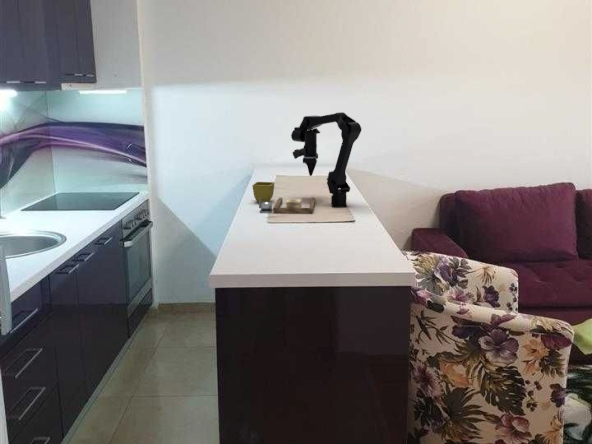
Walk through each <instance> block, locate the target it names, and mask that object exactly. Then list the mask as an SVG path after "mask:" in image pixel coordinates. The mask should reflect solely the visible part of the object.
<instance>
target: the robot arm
mask: <svg viewBox="0 0 592 444" xmlns="http://www.w3.org/2000/svg"><path fill="white" fill-rule="evenodd" d="M331 123H332V124H333V123H336V124H337V127H338V129H339V130H340V131H341V133H340V136H341V139H342V142H341V146H340V149H339V153H338V157H337V160H336V163H335V167H334V168H333V169H334V170H332V171H329V172H328V173H327V178H326V180H327V181H326V184H327V188H328V192H329V194H332V195H331V196H330V197H331V200H330V201H331V202H330V203H331V207H333V208H347V204H348V203H347V193H349V192H350V191H351V186H350V185H349V184H348V182H347V175H346V170H347V166H348V165H349V164H348V163H349V160H350V157H351V153H352V149H353V146H354V143H355V142H356V140H357V139H358V138H359V137H360V135H361V133H362V126H361V125H360V123H359V122H357V121H356V120H355V119H353V118H352V117H351V116H349V115H347V114H346V113H345V112H342V111H341V112H336V113H331V114H325V115H305V116H303V118H302V121H301V122H300V124H299V126H295V127H294V129H293V130H292V132H291V134H290V137H291V140H292V141H293V142H299V143H304V145H303V147H302V148H296V149H294V151H292V156H293V158H294V160H296V159H298V158H299V157H302V156H303V158H302V164H305V165H306V166H307V170H308V174H309V176H310V177H312V176H313V174H314V171H315V168H316V166H317V162H318V160H317V159H319V153H318V151H317V149H318V144H317V140H318V138H317V137H318V134H321V131H320V130H318V128H319V127H321V126H322V125H326V124H331Z"/></svg>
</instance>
